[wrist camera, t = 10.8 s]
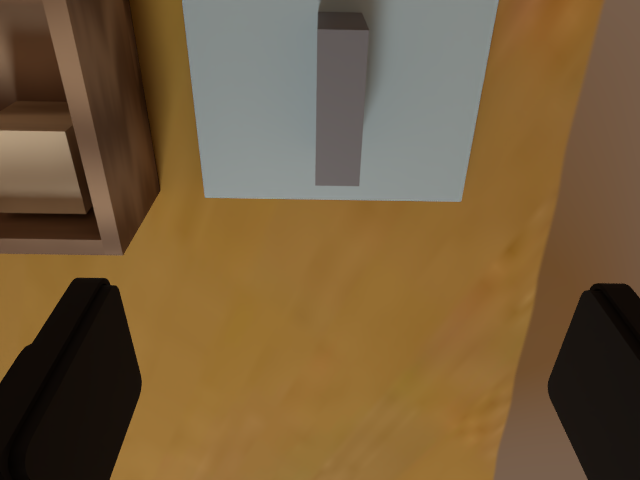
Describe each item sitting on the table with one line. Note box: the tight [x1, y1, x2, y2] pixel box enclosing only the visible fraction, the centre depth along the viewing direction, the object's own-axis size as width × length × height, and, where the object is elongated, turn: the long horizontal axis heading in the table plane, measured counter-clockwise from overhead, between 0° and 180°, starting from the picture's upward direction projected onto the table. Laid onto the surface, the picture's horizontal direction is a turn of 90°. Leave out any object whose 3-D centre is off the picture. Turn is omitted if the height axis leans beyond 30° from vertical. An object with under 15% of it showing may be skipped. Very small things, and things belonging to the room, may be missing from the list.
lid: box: [182, 0, 499, 202], centre depth 29 cm, size 15×17×7 cm
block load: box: [0, 101, 93, 214], centre depth 31 cm, size 5×5×5 cm
